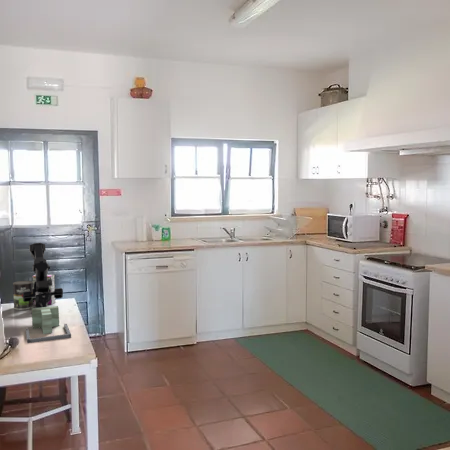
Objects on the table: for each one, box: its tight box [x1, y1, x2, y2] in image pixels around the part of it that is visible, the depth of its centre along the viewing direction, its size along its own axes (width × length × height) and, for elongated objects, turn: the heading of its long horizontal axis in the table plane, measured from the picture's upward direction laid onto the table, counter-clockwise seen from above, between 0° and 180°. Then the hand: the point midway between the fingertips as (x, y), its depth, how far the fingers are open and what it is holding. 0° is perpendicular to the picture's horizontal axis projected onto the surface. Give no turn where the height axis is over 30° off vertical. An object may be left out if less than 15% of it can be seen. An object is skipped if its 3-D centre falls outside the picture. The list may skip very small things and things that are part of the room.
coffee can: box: [12, 280, 35, 311], centre depth 277 cm, size 10×10×14 cm
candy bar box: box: [31, 274, 56, 305], centre depth 285 cm, size 11×5×16 cm, turn 84°
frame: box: [25, 323, 72, 344], centre depth 230 cm, size 18×18×2 cm
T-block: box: [31, 305, 60, 335], centre depth 238 cm, size 14×12×9 cm
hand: (44, 309), depth 247 cm, fingers closed
